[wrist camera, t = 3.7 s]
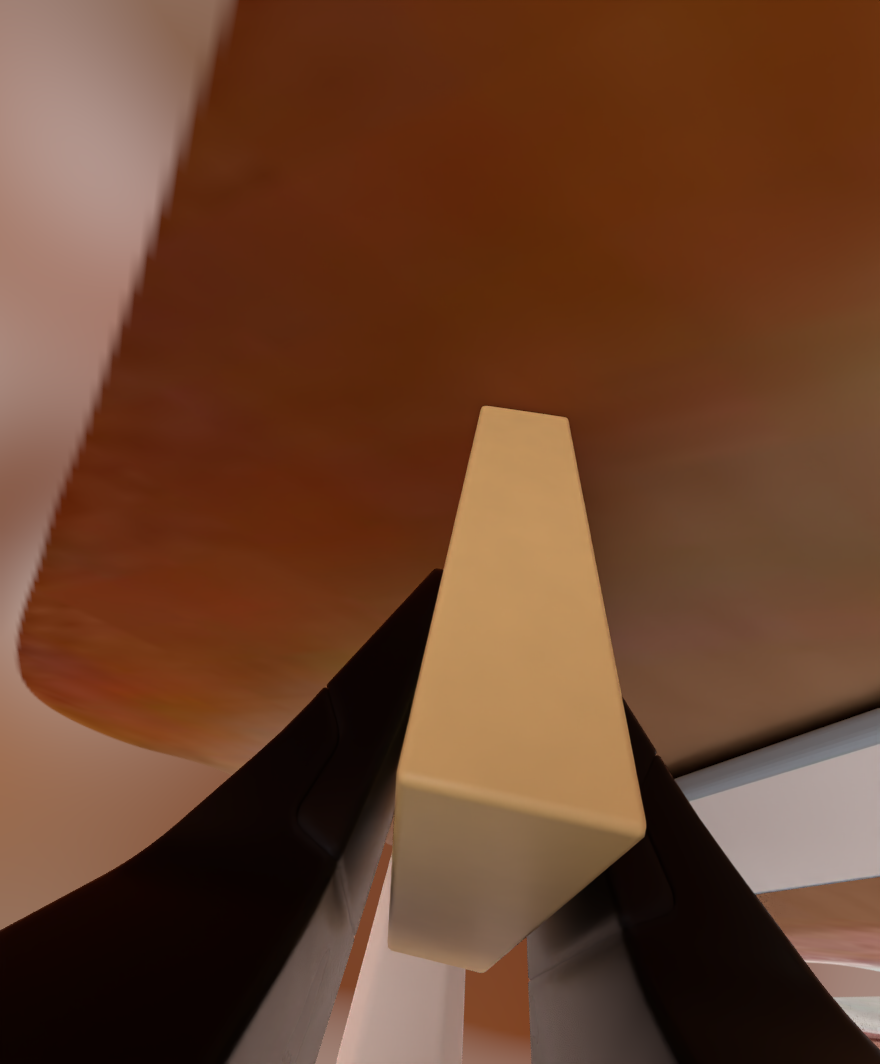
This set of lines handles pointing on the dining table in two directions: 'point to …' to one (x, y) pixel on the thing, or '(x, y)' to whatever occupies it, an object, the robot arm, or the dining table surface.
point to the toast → (511, 713)
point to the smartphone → (797, 807)
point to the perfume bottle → (403, 1004)
